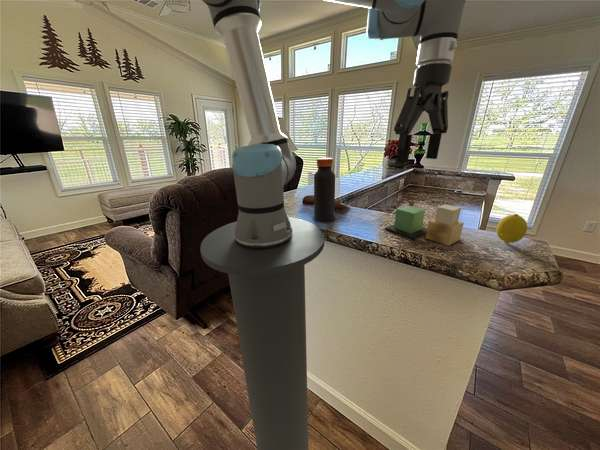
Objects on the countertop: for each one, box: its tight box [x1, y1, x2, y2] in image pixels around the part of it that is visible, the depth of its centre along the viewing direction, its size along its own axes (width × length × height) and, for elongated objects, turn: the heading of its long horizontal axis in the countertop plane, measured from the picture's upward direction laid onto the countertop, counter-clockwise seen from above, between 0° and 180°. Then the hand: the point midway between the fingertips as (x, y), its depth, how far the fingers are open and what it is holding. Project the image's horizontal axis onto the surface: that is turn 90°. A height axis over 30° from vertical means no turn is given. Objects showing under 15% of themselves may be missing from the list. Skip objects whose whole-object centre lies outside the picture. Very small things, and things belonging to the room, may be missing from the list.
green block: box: [393, 205, 426, 234], centre depth 68 cm, size 6×6×6 cm
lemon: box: [496, 213, 528, 244], centre depth 59 cm, size 6×6×8 cm
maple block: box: [425, 218, 464, 247], centre depth 63 cm, size 6×6×5 cm
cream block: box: [434, 203, 462, 226], centre depth 61 cm, size 4×4×4 cm
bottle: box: [313, 157, 336, 223], centre depth 77 cm, size 7×7×20 cm
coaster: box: [384, 224, 428, 240], centre depth 69 cm, size 9×9×1 cm
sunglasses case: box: [301, 194, 351, 214], centre depth 92 cm, size 18×7×7 cm
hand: (417, 160), depth 62 cm, fingers open, 13 cm apart
